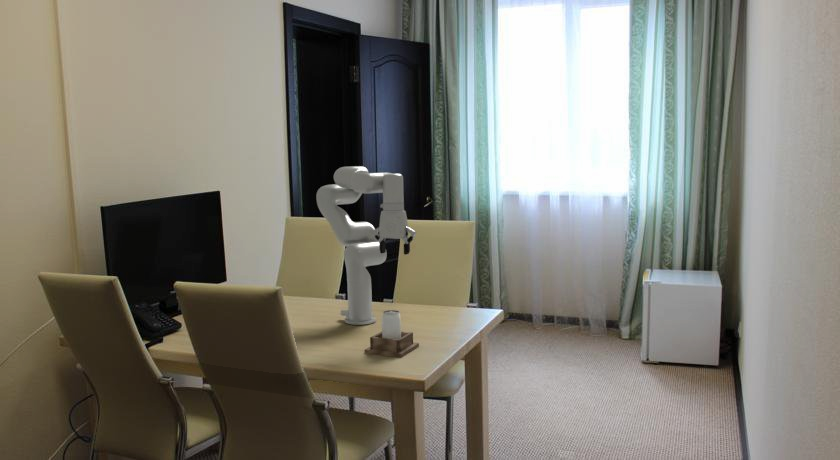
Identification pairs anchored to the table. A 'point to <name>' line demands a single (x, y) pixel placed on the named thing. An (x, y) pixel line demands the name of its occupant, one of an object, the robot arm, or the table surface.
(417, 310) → the table surface
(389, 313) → the can
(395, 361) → the table surface
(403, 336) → the holder
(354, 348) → the table surface
